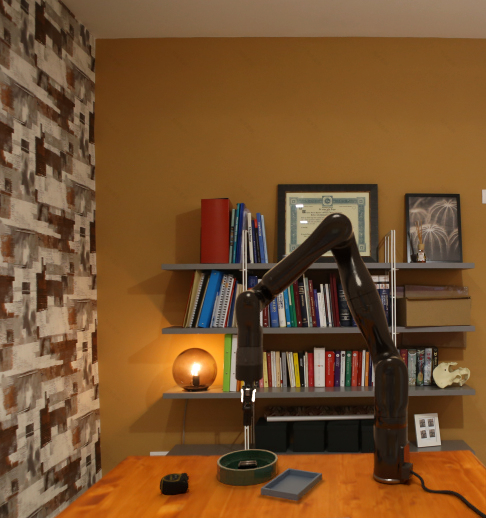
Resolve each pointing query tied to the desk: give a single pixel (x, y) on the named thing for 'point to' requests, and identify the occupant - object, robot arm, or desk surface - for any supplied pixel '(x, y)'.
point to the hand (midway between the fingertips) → (248, 421)
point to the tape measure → (174, 483)
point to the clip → (247, 465)
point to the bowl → (261, 474)
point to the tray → (291, 484)
